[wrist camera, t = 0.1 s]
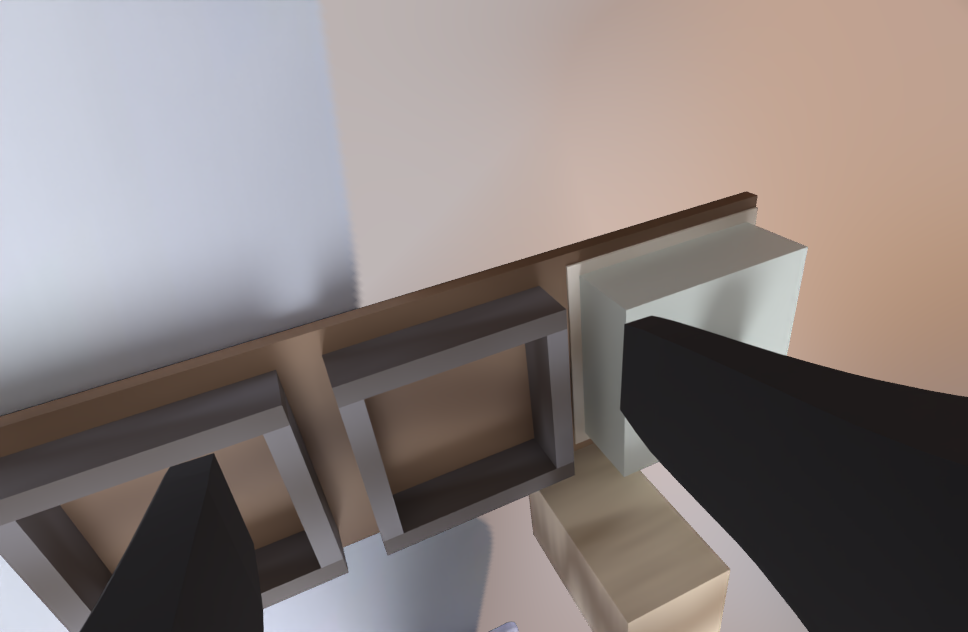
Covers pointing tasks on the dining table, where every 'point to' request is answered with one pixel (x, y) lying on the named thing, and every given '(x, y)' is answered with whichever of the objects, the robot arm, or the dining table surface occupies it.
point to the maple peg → (627, 552)
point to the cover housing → (682, 314)
